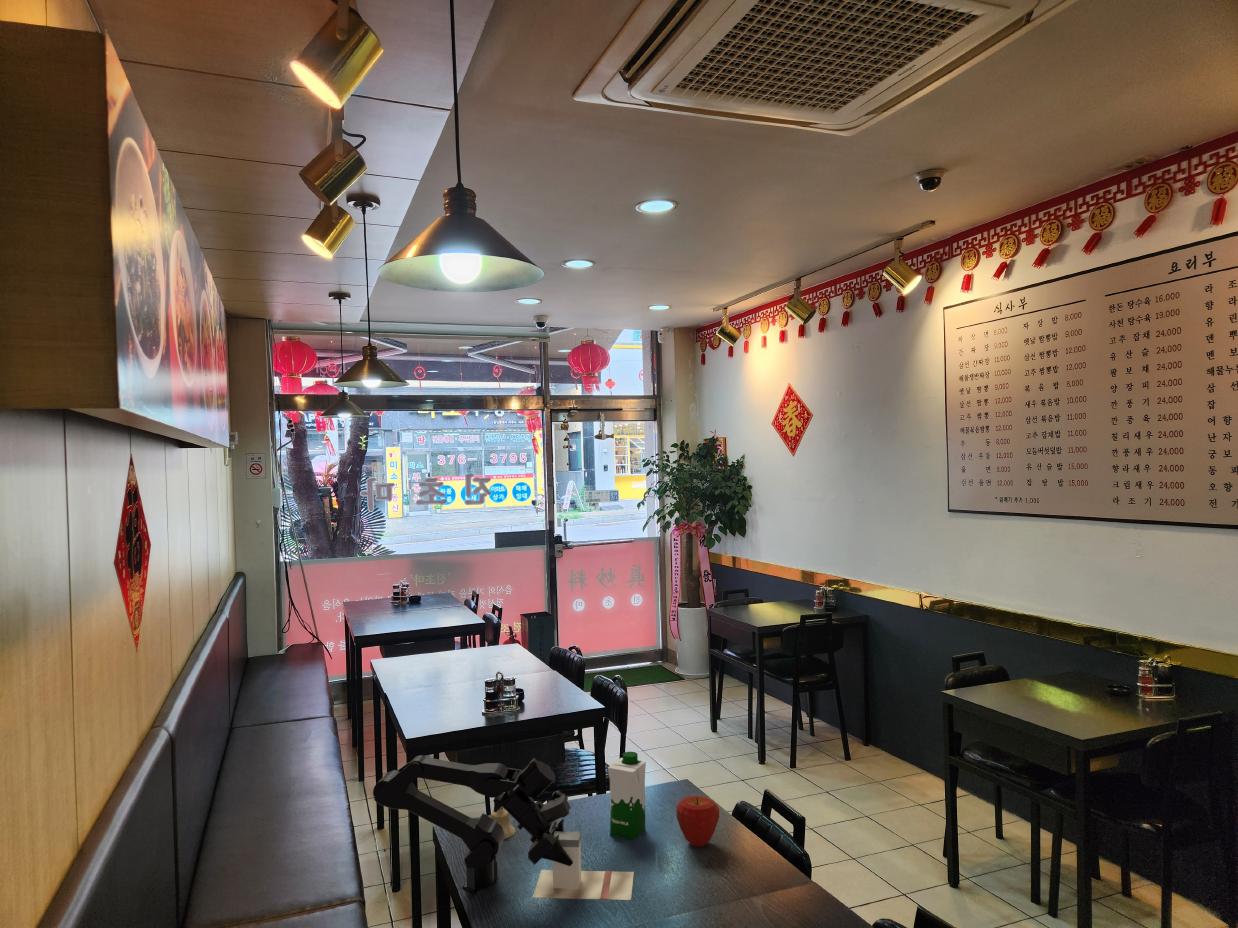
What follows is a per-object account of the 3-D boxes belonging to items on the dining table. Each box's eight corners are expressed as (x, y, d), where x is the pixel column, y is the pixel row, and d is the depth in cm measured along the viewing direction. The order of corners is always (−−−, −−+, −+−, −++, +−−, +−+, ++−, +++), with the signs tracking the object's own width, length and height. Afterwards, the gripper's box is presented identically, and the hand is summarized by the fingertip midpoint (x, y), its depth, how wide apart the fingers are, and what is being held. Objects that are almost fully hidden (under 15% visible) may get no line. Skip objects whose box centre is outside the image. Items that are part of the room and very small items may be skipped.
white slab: (552, 888, 176) (552, 839, 176) (555, 878, 180) (554, 831, 180) (579, 888, 175) (578, 839, 175) (581, 879, 179) (580, 831, 179)
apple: (727, 849, 195) (726, 801, 195) (689, 857, 191) (688, 808, 191) (706, 830, 205) (705, 785, 205) (670, 838, 201) (669, 791, 201)
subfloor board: (532, 901, 172) (532, 896, 172) (541, 873, 184) (541, 869, 184) (630, 904, 170) (630, 899, 170) (633, 875, 182) (633, 871, 182)
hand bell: (518, 826, 209) (518, 766, 210) (511, 840, 201) (510, 778, 201) (488, 825, 210) (488, 766, 210) (480, 839, 202) (479, 778, 202)
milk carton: (649, 828, 207) (648, 753, 207) (634, 843, 199) (633, 765, 199) (620, 822, 211) (619, 748, 211) (604, 836, 203) (603, 759, 203)
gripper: (541, 802, 169) (592, 854, 168) (555, 770, 187) (601, 816, 186) (506, 838, 169) (557, 890, 168) (523, 802, 188) (569, 849, 187)
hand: (572, 859), depth 177 cm, fingers open, 4 cm apart
